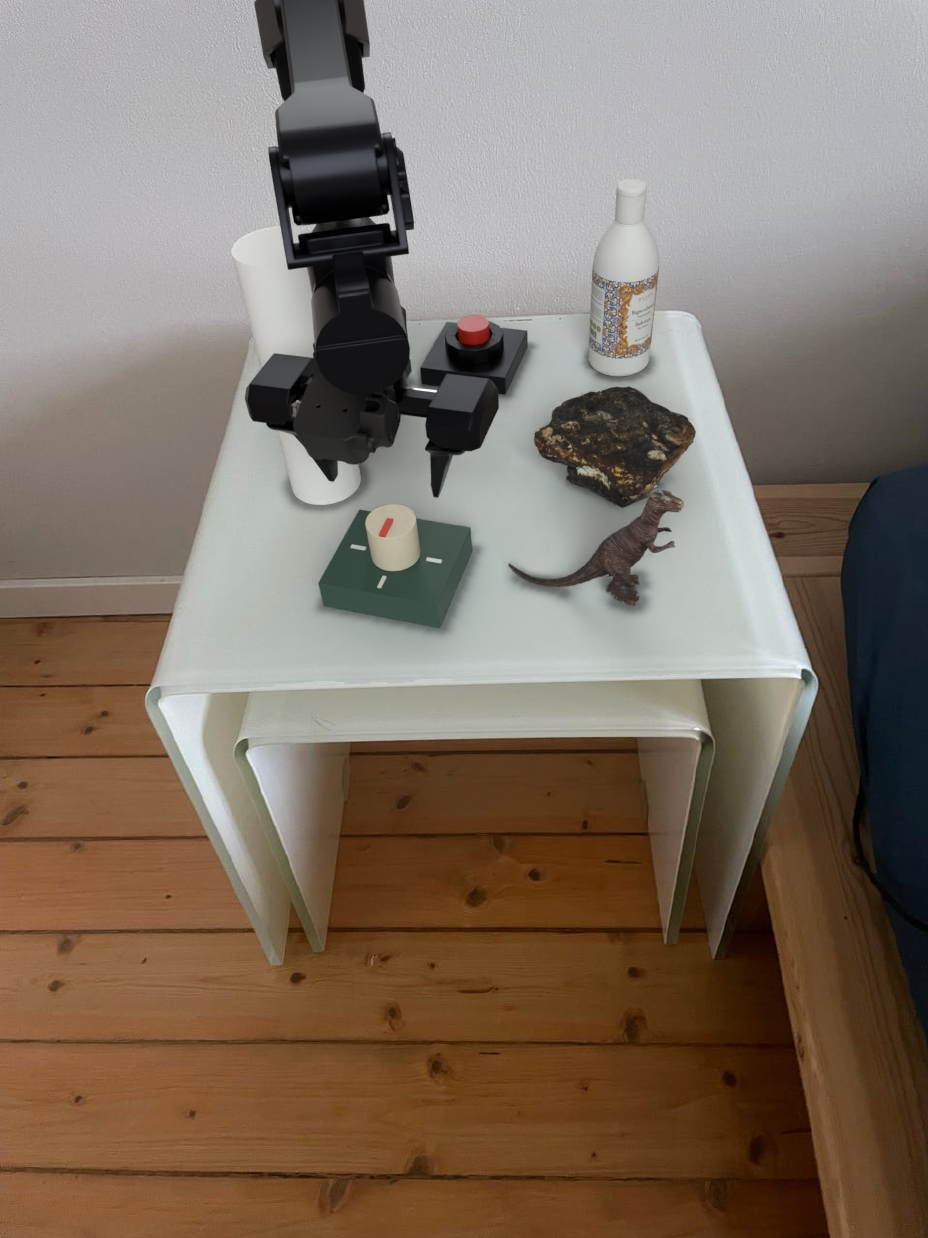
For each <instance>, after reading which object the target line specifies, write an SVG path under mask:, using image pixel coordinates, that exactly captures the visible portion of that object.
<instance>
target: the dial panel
mask: <svg viewBox="0 0 928 1238" xmlns="http://www.w3.org/2000/svg"><path fill="white" fill-rule="evenodd" d="M372 511H373V510H367V509H358V511H357V512H356V514H355V516H354V518H353V520H352V522H351V523H350V525H349V527H348V529H347V531H346V532H345V534H344V536H343V538H342V540H341V541H340V543H339V545H338V547H337V548H336V550H335V552H334V553H333V556H332V557H331V559H330V560H329V563H328V564H327V566H326V568H325V570H324V572H323V574H322V576H321V577H320V578H319V580H318V583H317V584H318V589H319V593H320V597H321V601H322V605H323V607H326V608H330V609H331V608H332V609H336V610H341V611H346V612H352V613H357V614H363V615H367V616H373V617H377V618H384V619H388V620H395V621H399V622H405V623H410V624H416V625H421V626H426V627H430V628H435V629H440V628H442V624H443V622H444V619H445V617H446V615H447V612H448V610H449V608H450V605H451V603H452V600H453V598H454V596H455V593H456V591H457V589H458V586H459V583H460V581H461V580H462V576H463V574H464V571H465V569H466V567H467V565H468V562H469V560H470V558H471V554H472V552H473V539H472V528H471V527H470V526H465V525H459V524H452V523H446V522H441V521H440V522H439V521H434V520H428V519H421V518H416V521H417V529H418V536H419V544H420V557H419V559H418V560H417V562H416V563H415V564H414V565H412V566H411V567H409V568H407V569H404V570H400V571H386V570H383V569H381V568H379V567H377V566H376V565H375V564H374V563H373V561H372V558H371V552H370V547H369V542H368V536H367V531H366V525H365V522H366V518H367V516H368V515H369V514H370V513H371V512H372Z"/></svg>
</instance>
